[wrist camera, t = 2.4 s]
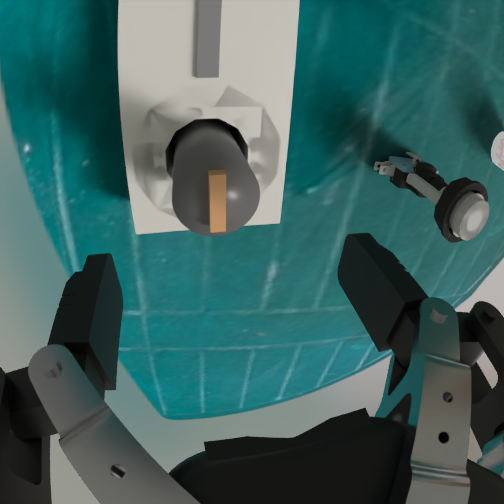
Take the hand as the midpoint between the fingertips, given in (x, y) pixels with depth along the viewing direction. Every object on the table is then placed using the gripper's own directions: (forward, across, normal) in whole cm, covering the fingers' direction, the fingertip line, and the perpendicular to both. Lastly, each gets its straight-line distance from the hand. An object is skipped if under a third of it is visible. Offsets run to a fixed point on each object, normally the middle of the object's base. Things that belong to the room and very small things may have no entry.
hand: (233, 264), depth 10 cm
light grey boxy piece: (+14, 0, -3) cm, 15 cm away
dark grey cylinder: (+15, 0, 0) cm, 15 cm away
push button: (+15, -18, +2) cm, 23 cm away
